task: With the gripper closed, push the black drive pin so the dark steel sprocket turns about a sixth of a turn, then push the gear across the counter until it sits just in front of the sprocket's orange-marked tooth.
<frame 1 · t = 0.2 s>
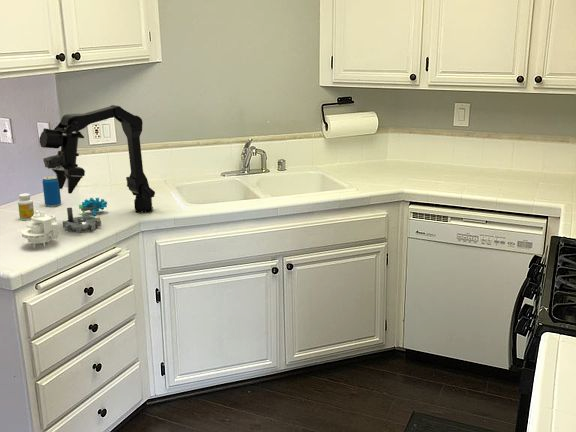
hand: (65, 191, 239), 15 cm above the worktop, tool pointing down, fingers open, 9 cm apart
supplement bottle: (27, 218, 256), on the worktop
gear: (93, 214, 262), on the worktop
bearing plate: (82, 228, 244), on the worktop
sprocket: (81, 217, 242), point 4 cm above the worktop, hinge at 0.0°
mechanical part: (41, 245, 227), on the worktop
beverage can: (53, 205, 273), on the worktop
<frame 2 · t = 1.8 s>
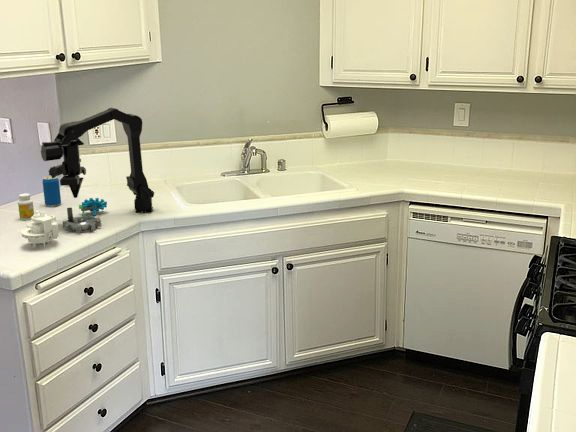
hand: (75, 197, 247), 10 cm above the worktop, tool pointing down, fingers closed
nothing on the worktop moved.
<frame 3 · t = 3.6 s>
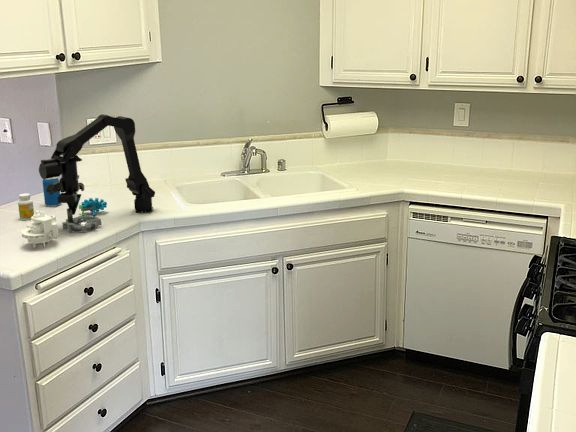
hand: (73, 214, 243), 5 cm above the worktop, tool pointing down, fingers closed
sprocket: (81, 217, 242), point 4 cm above the worktop, hinge at 14.9°, touching gripper
everything else where it was.
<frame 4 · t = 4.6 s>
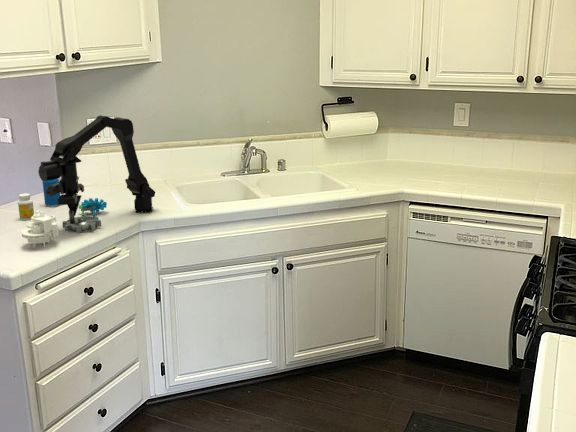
hand: (73, 216, 242), 5 cm above the worktop, tool pointing down, fingers closed
sprocket: (81, 217, 242), point 4 cm above the worktop, hinge at 45.5°, touching gripper
everything else where it was.
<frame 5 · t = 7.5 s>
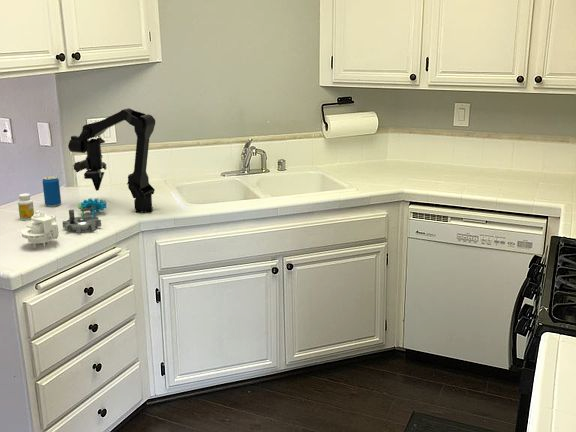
hand: (97, 190, 271), 7 cm above the worktop, tool pointing down, fingers closed
sprocket: (81, 217, 242), point 4 cm above the worktop, hinge at 45.6°
everything else where it was.
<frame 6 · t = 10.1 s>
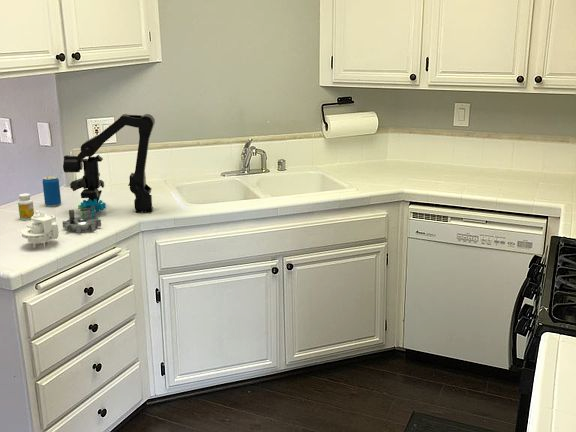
hand: (94, 209, 264), 1 cm above the worktop, tool pointing down, fingers closed
gear: (92, 215, 261), on the worktop, touching gripper
everything else where it was.
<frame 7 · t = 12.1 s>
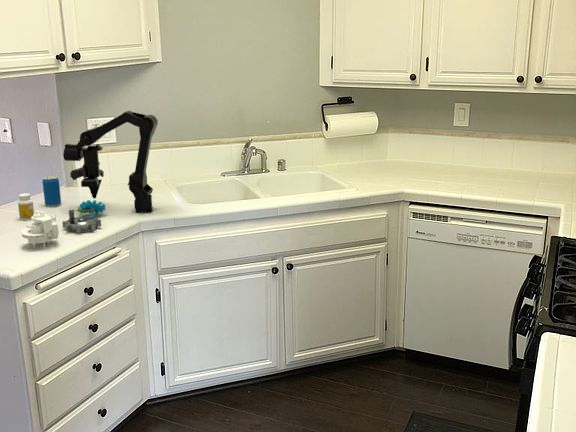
hand: (94, 198, 266), 5 cm above the worktop, tool pointing down, fingers closed
gear: (92, 216, 259), on the worktop
everything else where it was.
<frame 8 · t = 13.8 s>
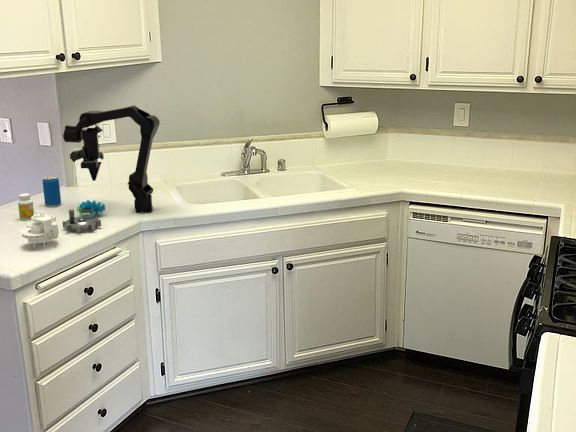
hand: (94, 180, 265), 12 cm above the worktop, tool pointing down, fingers closed
nothing on the worktop moved.
at the end: sprocket at +46° (first picture: +0°); gear inside the target area (4.0 cm from its centre), on the worktop; gear tilted 0° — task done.
